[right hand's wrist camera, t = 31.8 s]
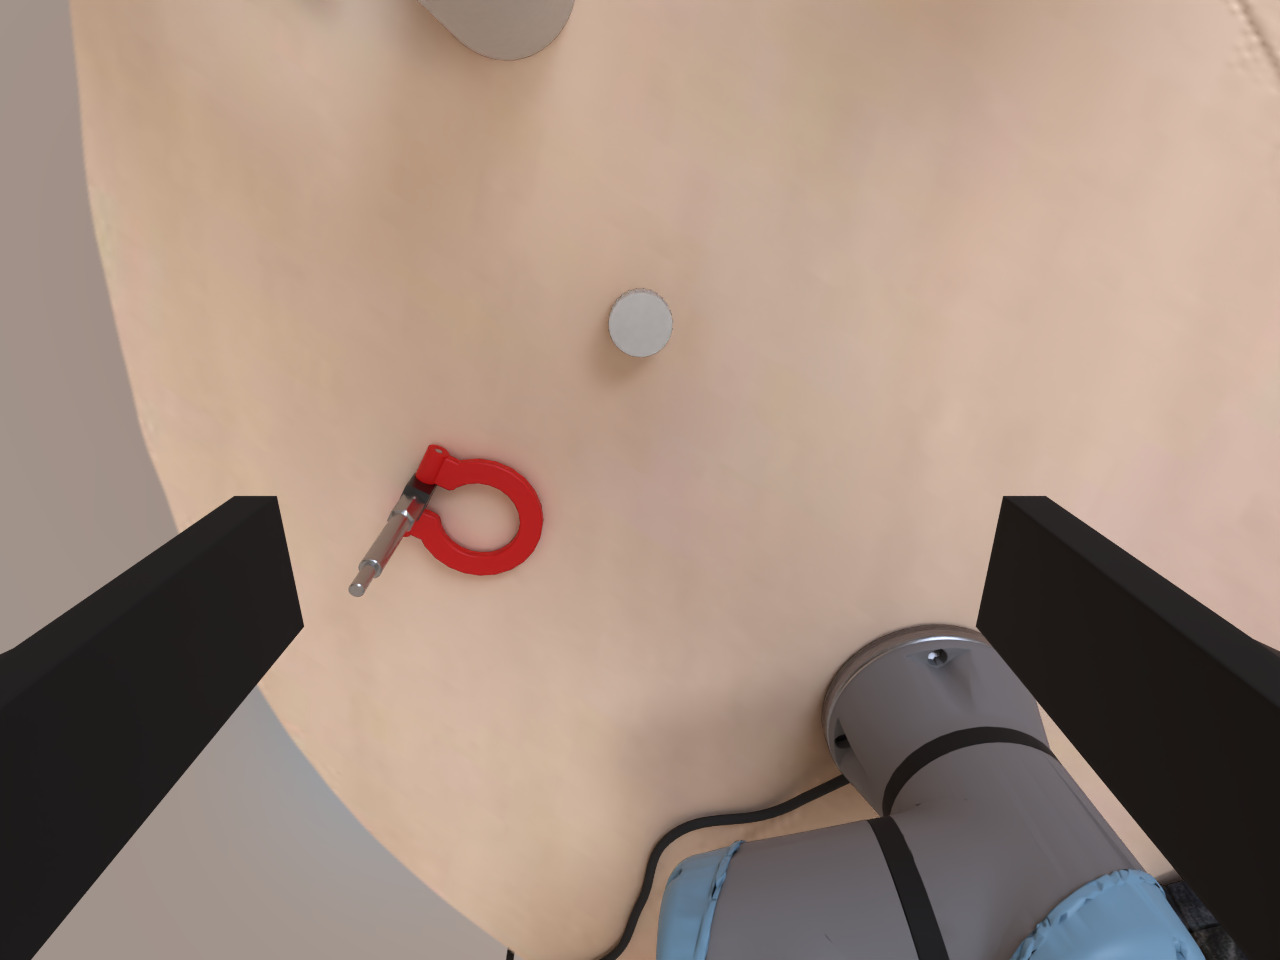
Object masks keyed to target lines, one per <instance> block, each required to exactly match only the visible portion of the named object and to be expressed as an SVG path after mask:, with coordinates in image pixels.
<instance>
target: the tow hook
mask: <svg viewBox="0 0 1280 960" xmlns="http://www.w3.org/2000/svg"><path fill="white" fill-rule="evenodd" d="M476 483H479V484H485V485H490V486H492V487H495V488H497V489H499V490H501V491H502V492H503V493H505V494H506V495H507V496H508V497H509V498H510V499H511V500H512V501H513V503H514V504H515V506H516V508H517V510H518V513H519V519H520V527H519V531H518V533H517V535H516V537H515V538H514V539H513V540H512V541H511V542H510V543H509V544H508V545H506V546H504V547H503V548H501V549H498V550H495V551H492V552H476V551H470V550H468V549H465V548H463V547H461V546H459V545H458V544H456V543H455V542H453V541H452V540H451V539H450V537H449V536H448V535H447V534H446V533H445V531H444V529H443V527H442V525H441V520H440V517H439V515H438V514H436V513H434V512H432V511H430V510H427V509H425V508H426V506H427V504H428V502H429V500H430V498H431V496H432V494H433V492H434V490H435V488H436V486H437V485H438V486H440V487H443V488H445V489H447V490H454V489H455V488H457V487H460V486H463V485H466V484H476ZM387 521H388V523H387V524H386V526H385V527H384V529H383V530H382V532H381V533H380V535H379V536H378V537H377V539H376V540H375V542H374V543H373V545H372V546H371V548H370V549H369V551H368V552H367V554H366V555H365V557H364V558H363V560H362V561H361V563H360V564H359V573H358V574H357V576H356V577H355V579H354V580H353V582H352V583H351V585H350V586H349V593H350V594H351V595H353V596H355V597H360V596H362V595H363V594H364V592H365V591H366V589H367V588H368V586H369V584H370V583H371V581H372V579H373V578H377V577H378V576H380V574H381V573H382V571H383V569H384V568H385V566H386V564H387V563H388V561H389V559H390V558H391V556H392V554H393V553H394V551H395V549H396V548H397V546H398V545H399V543H400V541H401V540H402V538H403V537H408V536H410V535H412V536H415V537H417V538H419V539H421V540H422V542H423V544H424V546H425V547H426V548H427V549H428V550H429V551H430V553H431V554H432V555H433V556H434V557H435V558H436V559H438V560H439V561H441V562H442V563H444V564H445V565H446V566H448V567H450V568H452V569H455V570H457V571H460V572H463V573H467V574H473V575H480V576H481V575H495V574H499V573H502V572H505V571H508V570H511V569H513V568H514V567H516V566H518V565H519V564H521V563H523V562H524V561H525V560H526V559H527V558H528V557H529V556H530V554H531V553H532V552H533V551H534V549H535V547H536V545H537V543H538V541H539V539H540V536H541V531H542V525H543V514H542V506H541V503H540V501H539V498H538V496H537V494H536V492H535V490H534V489H533V488H532V486H531V485H530V484H529V483H528V481H527V480H526V479H525V478H524V477H523V476H521V475H520V474H519V473H517V472H516V471H515V470H513V469H512V468H510V467H508V466H505V465H503V464H501V463H498V462H496V461H490V460H484V459H468V460H458V459H456V458H454V457H452V456H450V455H449V453H448V451H447V450H446V449H444V448H442V447H440V446H437V445H429V447H428V449H427V451H426V453H425V455H424V457H423V459H422V461H421V464H420V466H419V468H418V470H417V472H416V473H415V474H414V475H413V476H412V478H411V479H410V481H409V482H408V484H407V485H406V487H405V489H404V491H403V493H402V495H401V497H400V500H399V501H398V502H397V504H396V505H395V507H394V508H393V510H392V512H391V514H390V516H389V518H388V520H387Z"/></svg>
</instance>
